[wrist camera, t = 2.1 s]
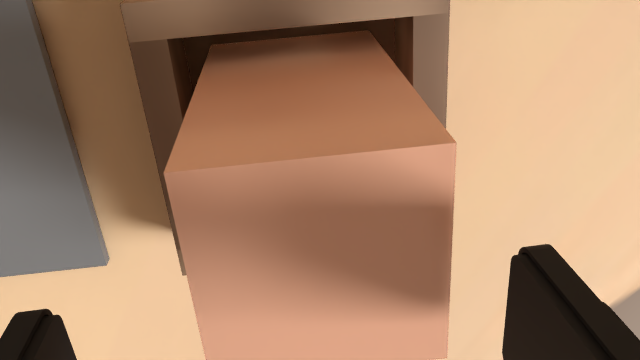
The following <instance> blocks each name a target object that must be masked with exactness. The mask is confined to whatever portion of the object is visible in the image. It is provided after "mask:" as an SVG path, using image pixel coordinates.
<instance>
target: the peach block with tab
mask: <svg viewBox="0 0 640 360" xmlns="http://www.w3.org/2000/svg"><path fill="white" fill-rule="evenodd" d="M455 163H456V142H455V140H454V139H453V138H452V136H451V135H450V134H449V133H448V131H447V130H446V129H445V127H444V126H443V125H442V124H441V122H440V121H439V120H438V118H437V117H436V116H435V115H434V113H433V112H432V111H431V109H430V108H429V107H428V106H427V104H426V103H425V102H424V100H423V99H422V98H421V97H420V95H419V94H418V93H417V92H416V90H415V89H414V88H413V86H412V85H411V84H410V83H409V81H408V80H407V79H406V77H405V76H404V75H403V74H402V72H401V71H400V70H399V68H398V67H397V66H396V65H395V63H394V62H393V61H392V59H391V58H390V57H389V56H388V54H387V53H386V52H385V50H384V49H383V48H382V47H381V45H380V44H379V43H378V41H377V40H376V39H375V38H374V36H373V35H372V34H371V32H370V31H369V30H366V31H355V32H344V33H333V34H323V35H312V36H301V37H291V38H280V39H269V40H259V41H248V42H237V43H227V44H216V45H211V47H210V50H209V53H208V55H207V58H206V61H205V63H204V66H203V69H202V72H201V74H200V77H199V80H198V82H197V85H196V88H195V90H194V93H193V96H192V98H191V101H190V104H189V106H188V109H187V112H186V114H185V117H184V120H183V122H182V125H181V128H180V130H179V133H178V136H177V138H176V141H175V144H174V146H173V149H172V152H171V154H170V157H169V160H168V162H167V165H166V168H165V171H164V177H165V181H166V186H167V190H168V195H169V199H170V203H171V208H172V212H173V217H174V221H175V225H176V230H177V234H178V239H179V243H180V248H181V252H182V256H183V261H184V265H185V270H186V274H187V278H188V283H189V287H190V292H191V296H192V301H193V305H194V309H195V314H196V318H197V323H198V327H199V332H200V336H201V340H202V345H203V349H204V354H205V358H206V360H435V359H443V358H447V350H448V327H449V303H450V280H451V257H452V233H453V210H454V187H455Z"/></svg>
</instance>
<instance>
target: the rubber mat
mask: <svg viewBox="0 0 640 360" xmlns="http://www.w3.org/2000/svg"><path fill="white" fill-rule="evenodd" d="M108 261H109V256H108V252H107V249H106V246H105V242H104V239H103V236H102V232H101V229H100V226H99V222H98V219H97V216H96V212H95V209H94V206H93V202H92V199H91V196H90V193H89V189H88V186H87V183H86V179H85V176H84V173H83V169H82V166H81V163H80V159H79V156H78V153H77V149H76V146H75V143H74V139H73V136H72V133H71V129H70V126H69V123H68V119H67V116H66V113H65V109H64V106H63V103H62V99H61V96H60V93H59V90H58V86H57V83H56V80H55V76H54V73H53V70H52V66H51V63H50V60H49V56H48V53H47V50H46V46H45V43H44V40H43V36H42V33H41V30H40V26H39V23H38V20H37V16H36V13H35V10H34V6H33V3H32V0H0V277H6V276H15V275H24V274H33V273H42V272H51V271H61V270H70V269H79V268H88V267H97V266H106V265H107V263H108Z"/></svg>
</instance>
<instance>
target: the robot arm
mask: <svg viewBox="0 0 640 360" xmlns="http://www.w3.org/2000/svg"><path fill="white" fill-rule="evenodd" d="M502 354H503V360H640V340H639V339H638V338H637V337H636V336H635V335H634V333H633V332H632V331H631V330H630V329H629V328H628V327H627V326H626V325H625V324H624V322H623V321H622V320H621V319H620V318H619V317H618V316H617V315H616V314H615V312H614V311H613V310H612V309H611V308H610V307H609V306H608V305H607V304H605V303H604V302H601V300H600V299H599V298H598V297H597V296H596V295H595V294H594V293H593V292H592V290H591V289H590V288H589V287H588V286H587V285H586V284H585V283H584V281H583V280H582V279H581V278H580V277H579V276H578V275H577V274H576V272H575V271H574V270H573V269H572V268H571V267H570V266H569V265H568V264H567V262H566V261H565V260H564V259H563V258H562V257H561V256H560V255H559V253H558V252H557V251H556V250H555V249H554V248H553V247H552V246H551V245H549V244H544V245H537V246H529V247H522V248H521V249H520V250H519V253H518V255H514V256H513V257H512V259H511V266H510V276H509V287H508V297H507V307H506V318H505V328H504V338H503V349H502ZM0 360H77V359H76V356H75V353H74V350H73V348H72V345H71V342H70V339H69V337H68V334H67V331H66V328H65V326H64V323H63V320H62V318H61V317H60V316H59V315H53V314H52V312H51V311H50V310H49V309H41V310H33V311H26V312H18V313H16V314H15V315H14V316H13V317H12V319H11V321H10V323H9V324H8V326H7V328H6V330H5V331H4V333H3V335H2V336H1V338H0Z"/></svg>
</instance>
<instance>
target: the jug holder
mask: <svg viewBox="0 0 640 360" xmlns="http://www.w3.org/2000/svg"><path fill="white" fill-rule="evenodd" d="M120 7H121V11H122V15H123V20H124V24H125V28H126V33H127V37H128V41H129V46H130V50H131V54H132V59H133V63H134V67H135V72H136V76H137V80H138V85H139V89H140V93H141V98H142V102H143V106H144V111H145V115H146V119H147V124H148V128H149V132H150V137H151V141H152V145H153V150H154V154H155V158H156V163H157V167H158V171H159V175H160V180H161V184H162V188H163V193H164V197H165V201H166V206H167V210H168V214H169V219H170V223H171V227H172V232H173V236H174V240H175V245H176V249H177V253H178V258H179V262H180V266H181V271H182V275H187V274H186V270H185V265H184V261H183V256H182V252H181V248H180V243H179V239H178V234H177V230H176V225H175V221H174V217H173V212H172V208H171V203H170V199H169V195H168V190H167V186H166V181H165V177H164V171H165V168H166V165H167V162H168V160H169V157H170V154H171V152H172V149H173V146H174V144H175V141H176V138H177V136H178V133H179V130H180V128H181V125H182V122H183V120H184V117H185V114H186V112H187V109H188V106H189V104H190V101H191V98H192V96H193V90H192V85H191V79H190V74H189V68H188V63H187V58H186V52H185V47H184V41H183V38H185V37H195V36H206V35H217V34H228V33H239V32H249V31H260V30H271V29H282V28H292V27H303V26H314V25H325V24H336V23H346V22H357V21H368V20H379V19H389V18H395V65H396V66H397V67H398V68H399V70H400V71H401V72H402V74H403V75H404V76H405V77H406V79H407V80H408V81H409V83H410V84H411V85H412V86H413V88H414V89H415V90H416V92H417V93H418V94H419V95H420V97H421V98H422V99H423V100H424V102H425V103H426V104H427V106H428V107H429V108H430V109H431V111H432V112H433V113H434V115H435V116H436V117H437V118H438V120H439V121H440V122H441V124H442V125H443V126H444V127H445V129H446V107H447V77H448V47H449V17H450V0H124V1H123V2H122V3H120Z"/></svg>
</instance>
